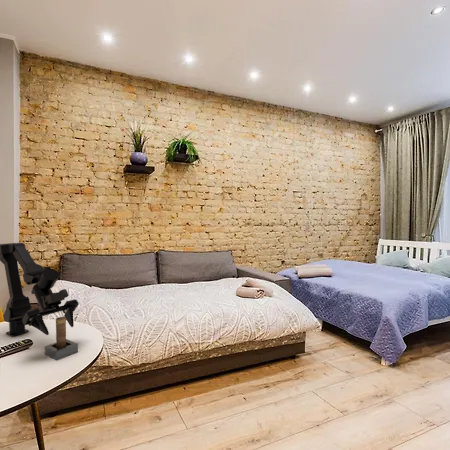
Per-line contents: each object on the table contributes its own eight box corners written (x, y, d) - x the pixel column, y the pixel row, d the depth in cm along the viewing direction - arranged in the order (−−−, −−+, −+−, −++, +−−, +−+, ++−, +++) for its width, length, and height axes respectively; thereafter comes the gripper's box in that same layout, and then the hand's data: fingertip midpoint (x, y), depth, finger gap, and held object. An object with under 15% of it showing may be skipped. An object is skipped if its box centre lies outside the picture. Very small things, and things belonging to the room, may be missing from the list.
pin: (54, 354, 115) (53, 319, 114) (61, 350, 118) (60, 316, 117) (61, 355, 114) (60, 320, 113) (68, 351, 117) (67, 317, 116)
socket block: (44, 354, 115) (44, 346, 115) (66, 346, 121) (65, 338, 121) (56, 360, 110) (56, 351, 110) (77, 351, 117) (77, 343, 117)
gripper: (25, 288, 110) (42, 326, 104) (75, 279, 125) (92, 311, 120) (15, 306, 115) (30, 343, 109) (65, 295, 130) (81, 327, 125)
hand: (60, 330), depth 116 cm, fingers open, 9 cm apart
